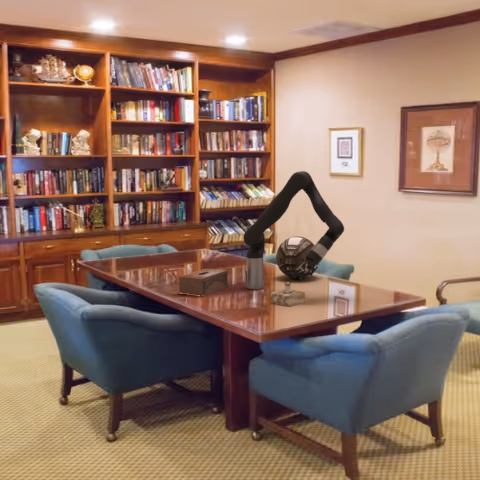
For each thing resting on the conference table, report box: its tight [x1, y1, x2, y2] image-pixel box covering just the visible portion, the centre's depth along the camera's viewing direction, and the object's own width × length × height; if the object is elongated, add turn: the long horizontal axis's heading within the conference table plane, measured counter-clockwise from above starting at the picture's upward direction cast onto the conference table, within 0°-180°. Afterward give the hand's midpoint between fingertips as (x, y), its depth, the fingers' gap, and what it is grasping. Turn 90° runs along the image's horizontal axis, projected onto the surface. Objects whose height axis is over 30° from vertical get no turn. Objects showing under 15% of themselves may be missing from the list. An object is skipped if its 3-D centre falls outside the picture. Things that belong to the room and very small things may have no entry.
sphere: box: [275, 235, 315, 280], centre depth 357 cm, size 25×25×25 cm
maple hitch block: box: [270, 288, 306, 307], centre depth 301 cm, size 12×12×5 cm
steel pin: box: [284, 281, 292, 294], centre depth 300 cm, size 3×3×10 cm
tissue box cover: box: [178, 268, 229, 296], centre depth 331 cm, size 26×14×10 cm, turn 149°
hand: (297, 278), depth 301 cm, fingers open, 8 cm apart
